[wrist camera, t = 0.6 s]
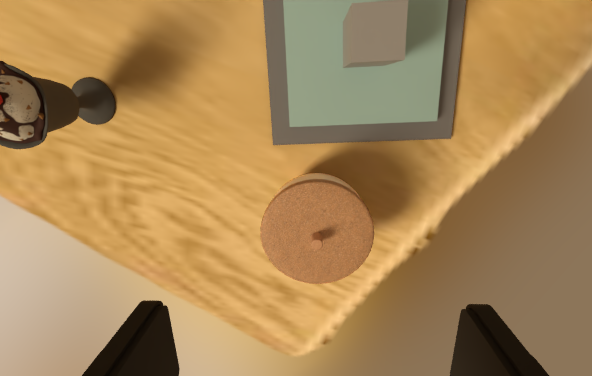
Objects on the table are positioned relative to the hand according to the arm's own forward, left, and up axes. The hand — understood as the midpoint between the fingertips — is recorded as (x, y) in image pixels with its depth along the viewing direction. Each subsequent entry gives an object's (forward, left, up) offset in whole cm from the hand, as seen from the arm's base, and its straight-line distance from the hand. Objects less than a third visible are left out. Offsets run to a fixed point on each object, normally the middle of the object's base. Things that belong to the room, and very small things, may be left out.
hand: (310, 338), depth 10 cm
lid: (-11, +5, -26) cm, 29 cm away
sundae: (-7, -24, -26) cm, 36 cm away
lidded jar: (+6, 0, -26) cm, 27 cm away
